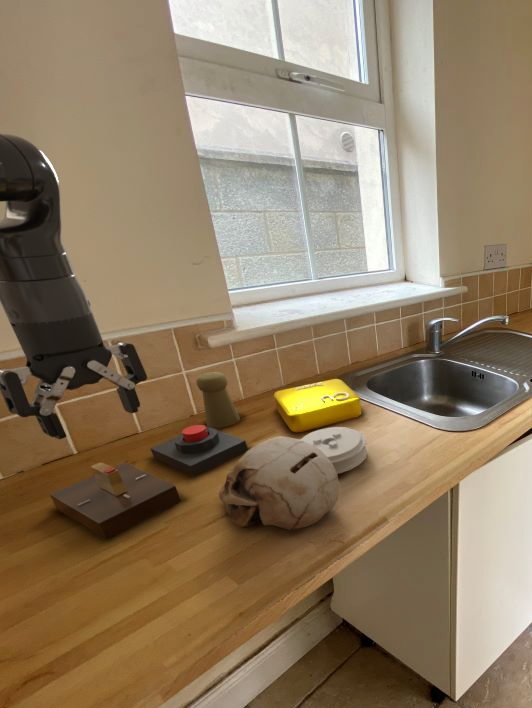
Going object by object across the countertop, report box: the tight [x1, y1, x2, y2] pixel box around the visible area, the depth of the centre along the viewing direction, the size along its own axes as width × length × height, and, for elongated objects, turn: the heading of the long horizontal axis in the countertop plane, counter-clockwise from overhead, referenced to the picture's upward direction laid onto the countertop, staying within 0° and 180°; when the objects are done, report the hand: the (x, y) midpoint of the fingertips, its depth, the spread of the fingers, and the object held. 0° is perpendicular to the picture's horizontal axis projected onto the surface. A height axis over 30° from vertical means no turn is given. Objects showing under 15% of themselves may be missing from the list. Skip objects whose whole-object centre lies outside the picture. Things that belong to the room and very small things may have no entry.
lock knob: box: [90, 461, 127, 496], centre depth 69 cm, size 5×1×4 cm, turn 65°
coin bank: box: [218, 435, 340, 531], centre depth 69 cm, size 16×17×13 cm
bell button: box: [181, 424, 208, 442], centre depth 83 cm, size 4×4×2 cm
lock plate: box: [49, 462, 181, 540], centre depth 71 cm, size 14×10×3 cm
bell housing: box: [150, 425, 249, 477], centre depth 84 cm, size 12×10×4 cm
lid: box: [300, 426, 368, 475], centre depth 84 cm, size 13×13×5 cm
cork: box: [195, 371, 241, 429], centre depth 94 cm, size 6×6×11 cm
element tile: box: [273, 378, 362, 433], centre depth 101 cm, size 15×15×5 cm
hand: (97, 423), depth 64 cm, fingers open, 8 cm apart
